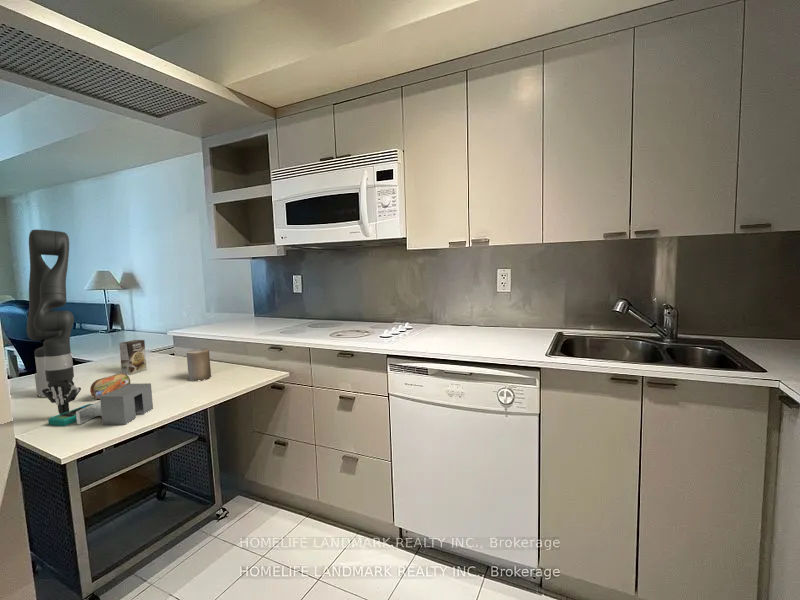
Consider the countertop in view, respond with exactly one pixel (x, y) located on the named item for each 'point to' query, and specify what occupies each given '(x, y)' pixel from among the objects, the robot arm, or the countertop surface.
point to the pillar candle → (198, 364)
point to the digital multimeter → (65, 417)
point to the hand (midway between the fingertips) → (64, 413)
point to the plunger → (88, 413)
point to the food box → (133, 356)
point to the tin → (108, 384)
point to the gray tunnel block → (126, 403)
